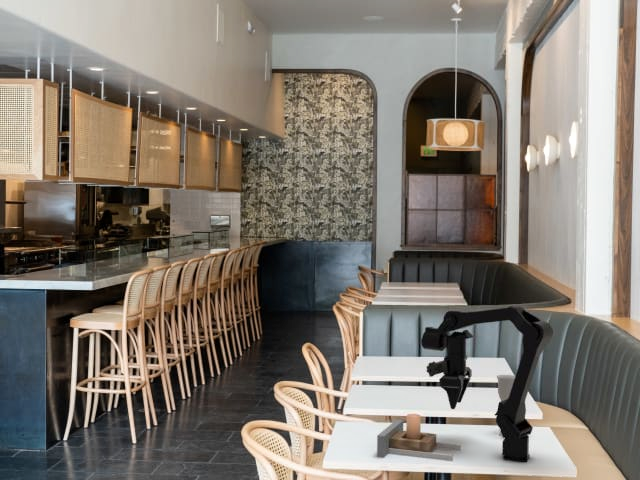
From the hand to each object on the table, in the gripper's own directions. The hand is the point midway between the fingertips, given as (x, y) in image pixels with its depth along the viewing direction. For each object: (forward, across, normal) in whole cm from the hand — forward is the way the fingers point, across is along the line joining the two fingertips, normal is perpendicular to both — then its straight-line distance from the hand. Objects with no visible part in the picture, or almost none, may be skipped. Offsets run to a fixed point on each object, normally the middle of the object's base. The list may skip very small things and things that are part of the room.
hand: (455, 405), depth 237 cm
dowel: (+11, +9, -10) cm, 18 cm away
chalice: (+12, -18, +13) cm, 25 cm away
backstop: (+12, +9, -8) cm, 17 cm away
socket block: (+12, +9, -10) cm, 18 cm away
